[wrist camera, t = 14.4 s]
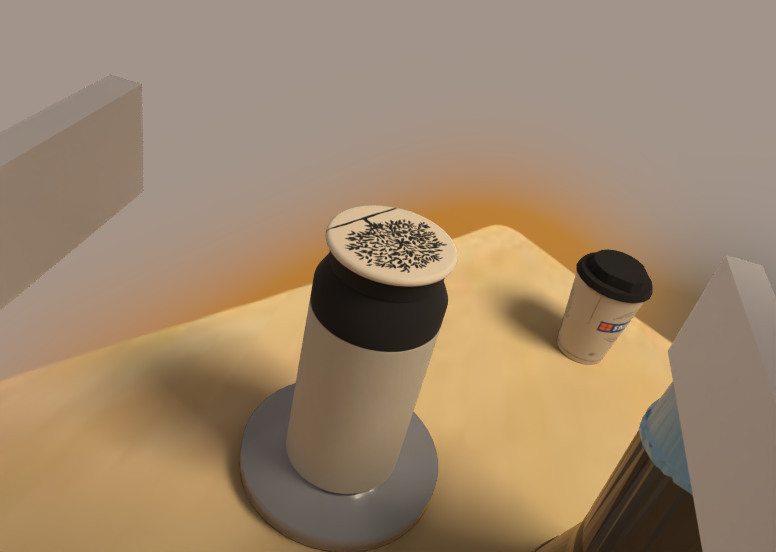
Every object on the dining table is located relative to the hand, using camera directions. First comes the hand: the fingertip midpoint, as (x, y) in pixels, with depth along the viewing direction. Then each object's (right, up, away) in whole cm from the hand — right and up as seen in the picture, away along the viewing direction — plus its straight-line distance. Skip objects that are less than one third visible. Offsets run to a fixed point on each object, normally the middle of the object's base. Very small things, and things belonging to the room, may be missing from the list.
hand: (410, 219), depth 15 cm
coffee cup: (+18, -8, +51) cm, 54 cm away
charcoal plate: (-4, -15, +34) cm, 37 cm away
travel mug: (-4, -14, +33) cm, 36 cm away
